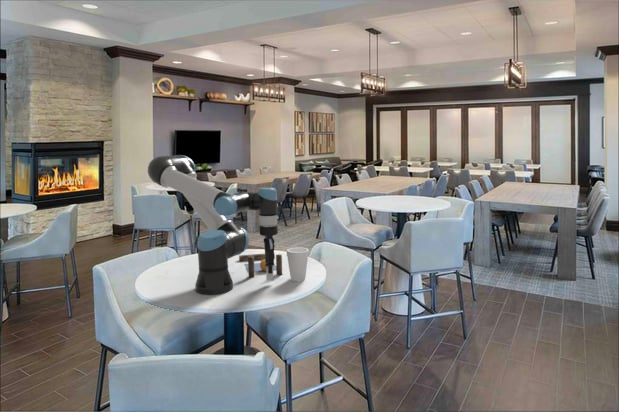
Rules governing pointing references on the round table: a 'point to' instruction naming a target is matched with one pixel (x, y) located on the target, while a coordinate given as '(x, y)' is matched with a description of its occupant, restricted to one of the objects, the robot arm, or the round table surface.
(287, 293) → the round table surface
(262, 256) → the bar
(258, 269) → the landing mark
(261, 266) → the ball
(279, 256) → the post right
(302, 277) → the foam cup
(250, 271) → the post left
